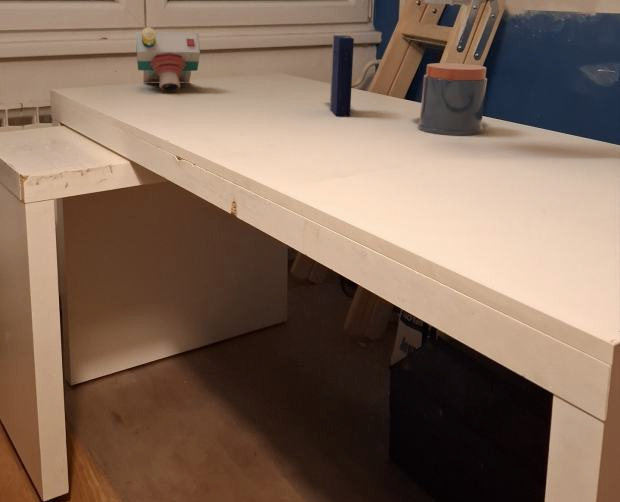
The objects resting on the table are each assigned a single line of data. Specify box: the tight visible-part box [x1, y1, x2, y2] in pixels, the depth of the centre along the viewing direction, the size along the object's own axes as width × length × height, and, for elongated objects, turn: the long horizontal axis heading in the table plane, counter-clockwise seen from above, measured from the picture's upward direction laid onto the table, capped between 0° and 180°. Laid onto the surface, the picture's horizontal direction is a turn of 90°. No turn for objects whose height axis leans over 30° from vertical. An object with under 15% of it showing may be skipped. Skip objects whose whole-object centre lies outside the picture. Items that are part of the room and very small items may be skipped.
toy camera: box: [135, 26, 201, 92], centre depth 143 cm, size 11×9×20 cm
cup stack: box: [416, 62, 488, 136], centre depth 112 cm, size 10×10×9 cm
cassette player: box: [329, 34, 355, 117], centre depth 123 cm, size 7×2×12 cm, turn 7°
